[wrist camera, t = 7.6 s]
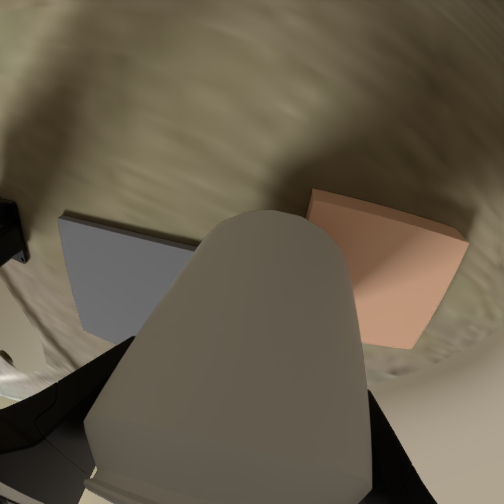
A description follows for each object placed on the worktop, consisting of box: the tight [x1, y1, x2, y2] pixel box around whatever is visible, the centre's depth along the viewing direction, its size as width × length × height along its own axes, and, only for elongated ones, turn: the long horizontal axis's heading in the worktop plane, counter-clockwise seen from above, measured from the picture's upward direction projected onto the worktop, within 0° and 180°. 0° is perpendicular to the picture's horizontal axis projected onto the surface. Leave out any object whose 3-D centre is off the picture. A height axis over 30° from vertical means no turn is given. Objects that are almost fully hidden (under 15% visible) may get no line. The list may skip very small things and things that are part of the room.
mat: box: [57, 215, 197, 345], centre depth 21 cm, size 12×12×1 cm
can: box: [83, 210, 372, 504], centre depth 9 cm, size 8×8×12 cm
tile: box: [306, 188, 469, 349], centre depth 15 cm, size 2×8×9 cm
